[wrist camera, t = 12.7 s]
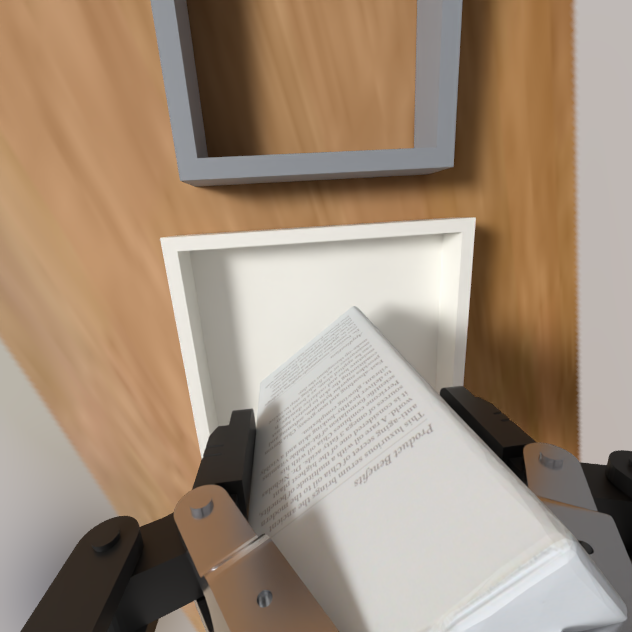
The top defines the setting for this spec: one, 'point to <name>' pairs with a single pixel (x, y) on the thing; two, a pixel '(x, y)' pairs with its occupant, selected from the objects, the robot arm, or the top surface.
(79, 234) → the top surface
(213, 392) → the tray
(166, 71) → the frame
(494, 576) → the skincare box
